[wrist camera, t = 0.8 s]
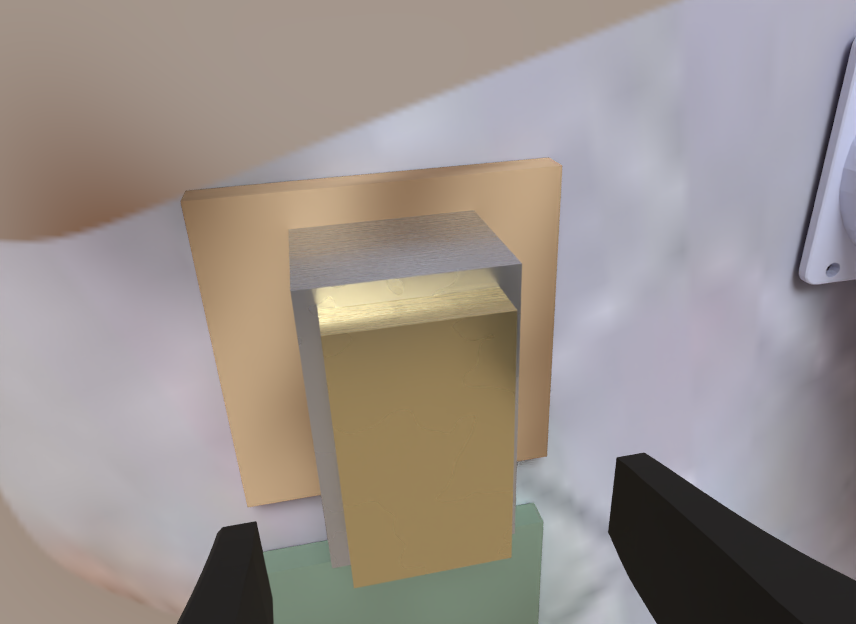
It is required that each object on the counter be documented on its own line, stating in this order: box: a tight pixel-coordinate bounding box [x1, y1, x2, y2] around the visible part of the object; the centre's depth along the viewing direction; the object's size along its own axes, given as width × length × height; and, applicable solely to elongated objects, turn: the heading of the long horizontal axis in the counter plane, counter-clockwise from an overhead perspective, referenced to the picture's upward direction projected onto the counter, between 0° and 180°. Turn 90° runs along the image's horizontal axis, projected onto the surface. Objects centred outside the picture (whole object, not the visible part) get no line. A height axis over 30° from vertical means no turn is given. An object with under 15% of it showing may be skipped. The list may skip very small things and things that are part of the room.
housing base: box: [288, 210, 522, 568], centre depth 17 cm, size 5×8×4 cm, turn 2°
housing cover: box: [318, 287, 517, 588], centre depth 15 cm, size 4×7×1 cm, turn 2°
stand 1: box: [181, 158, 562, 507], centre depth 19 cm, size 10×10×1 cm
